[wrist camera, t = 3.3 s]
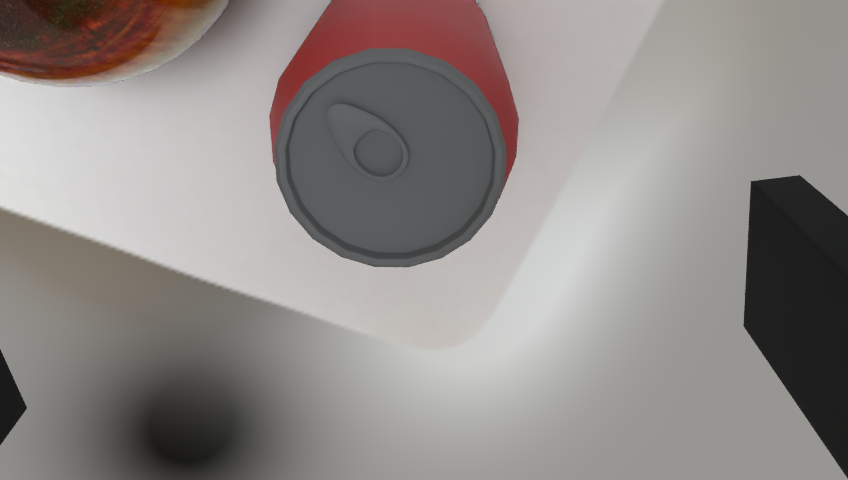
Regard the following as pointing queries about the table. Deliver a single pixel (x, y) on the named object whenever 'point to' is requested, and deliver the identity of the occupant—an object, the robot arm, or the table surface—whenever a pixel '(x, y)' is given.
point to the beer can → (394, 129)
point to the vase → (97, 38)
